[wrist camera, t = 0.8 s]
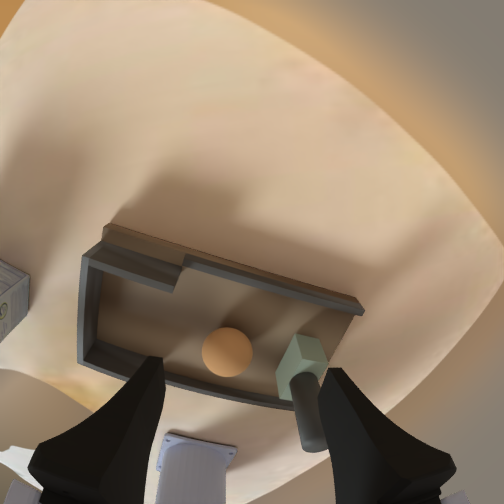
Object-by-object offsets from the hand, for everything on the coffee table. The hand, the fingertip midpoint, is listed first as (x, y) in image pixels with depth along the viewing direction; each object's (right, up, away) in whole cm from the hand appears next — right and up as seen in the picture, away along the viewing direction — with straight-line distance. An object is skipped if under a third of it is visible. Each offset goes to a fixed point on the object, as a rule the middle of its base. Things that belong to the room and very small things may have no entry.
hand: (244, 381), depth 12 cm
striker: (+4, -2, +10) cm, 11 cm away
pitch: (-2, 0, +10) cm, 11 cm away
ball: (-1, -1, +8) cm, 8 cm away
